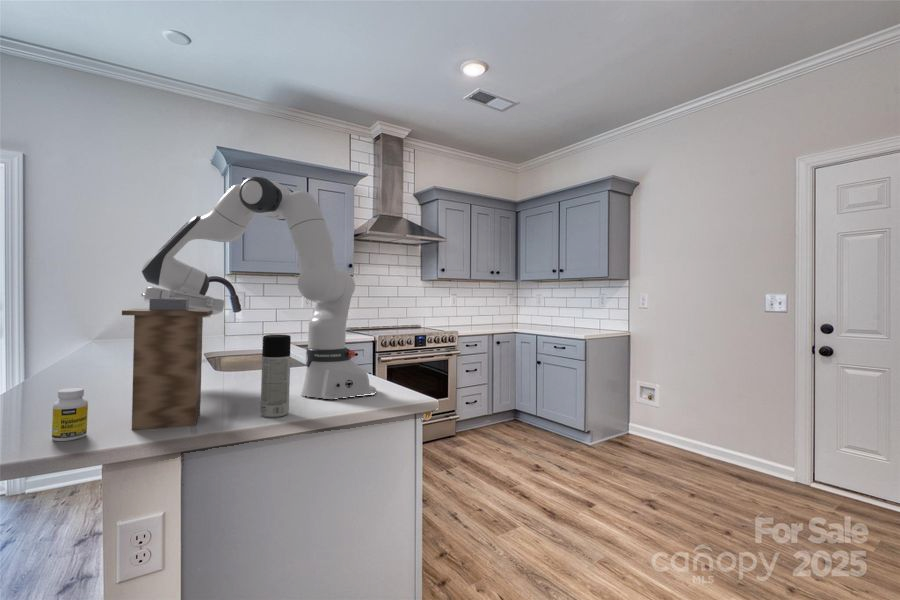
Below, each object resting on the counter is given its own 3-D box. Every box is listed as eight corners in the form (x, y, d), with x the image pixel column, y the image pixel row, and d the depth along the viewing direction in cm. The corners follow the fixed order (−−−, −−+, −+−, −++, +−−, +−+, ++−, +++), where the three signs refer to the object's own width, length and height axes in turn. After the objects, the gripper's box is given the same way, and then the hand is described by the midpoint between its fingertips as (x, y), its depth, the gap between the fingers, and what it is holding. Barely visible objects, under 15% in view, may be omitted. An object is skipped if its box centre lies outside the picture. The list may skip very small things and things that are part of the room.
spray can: (293, 411, 113) (295, 334, 113) (280, 419, 106) (283, 337, 106) (269, 410, 114) (271, 333, 113) (254, 417, 107) (257, 336, 107)
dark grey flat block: (196, 308, 116) (197, 298, 116) (186, 310, 99) (186, 299, 99) (165, 307, 113) (166, 297, 113) (149, 310, 96) (149, 298, 96)
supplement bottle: (57, 443, 85) (58, 393, 85) (47, 438, 88) (48, 390, 88) (91, 436, 90) (92, 389, 90) (81, 431, 93) (82, 385, 93)
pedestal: (209, 413, 109) (212, 309, 109) (204, 425, 99) (207, 311, 99) (133, 418, 103) (135, 308, 103) (119, 432, 93) (121, 310, 93)
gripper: (142, 285, 127) (149, 278, 117) (218, 299, 140) (231, 293, 130) (137, 306, 126) (144, 301, 116) (214, 318, 139) (227, 314, 129)
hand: (191, 297), depth 123 cm, fingers open, 8 cm apart
